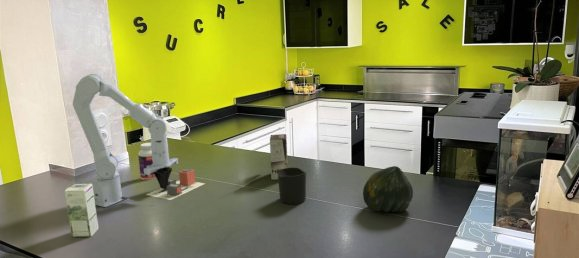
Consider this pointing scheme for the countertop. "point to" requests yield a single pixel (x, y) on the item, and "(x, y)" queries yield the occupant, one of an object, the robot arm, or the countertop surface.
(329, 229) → the countertop surface
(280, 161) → the coffee box
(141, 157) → the pill bottle
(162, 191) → the board
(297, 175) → the pen holder
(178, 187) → the breaker
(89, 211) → the syrup box
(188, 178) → the cap
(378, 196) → the squash
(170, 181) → the block
